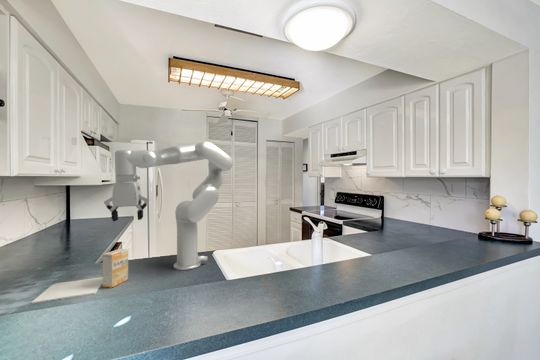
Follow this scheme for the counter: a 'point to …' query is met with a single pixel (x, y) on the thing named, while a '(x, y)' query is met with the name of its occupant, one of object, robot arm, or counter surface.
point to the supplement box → (115, 267)
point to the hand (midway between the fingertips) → (127, 220)
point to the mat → (70, 290)
